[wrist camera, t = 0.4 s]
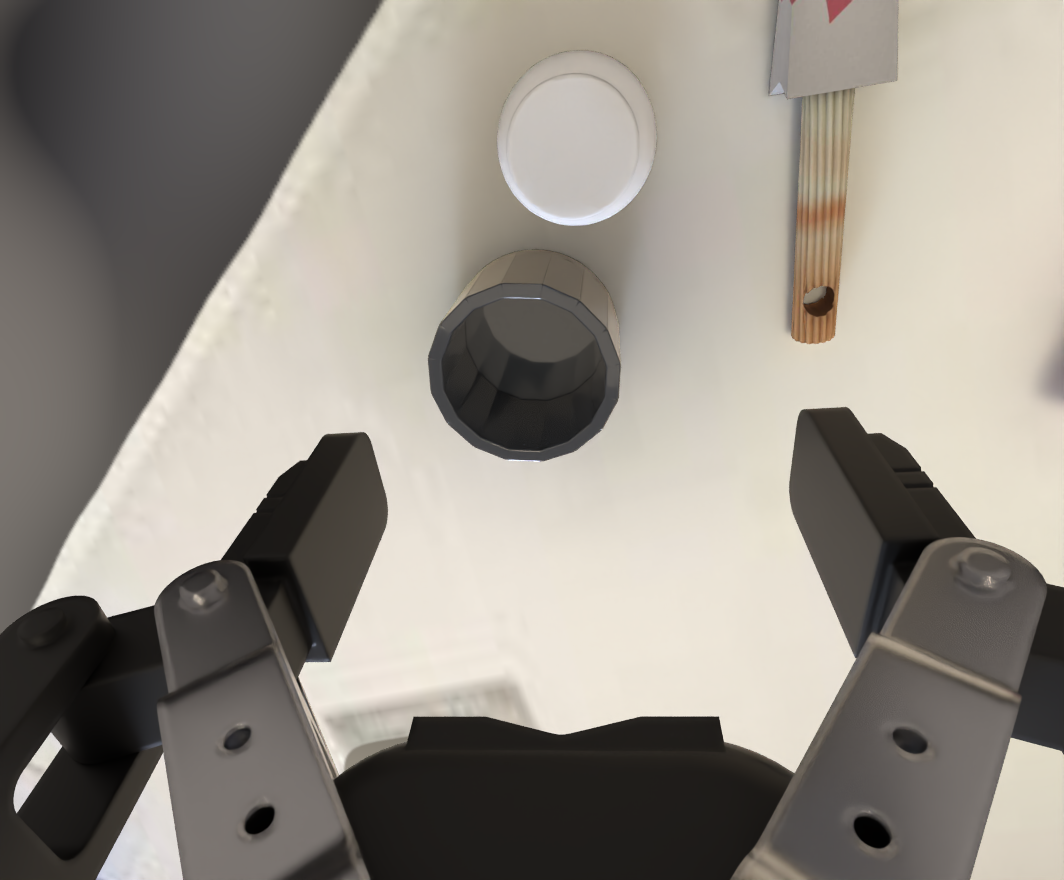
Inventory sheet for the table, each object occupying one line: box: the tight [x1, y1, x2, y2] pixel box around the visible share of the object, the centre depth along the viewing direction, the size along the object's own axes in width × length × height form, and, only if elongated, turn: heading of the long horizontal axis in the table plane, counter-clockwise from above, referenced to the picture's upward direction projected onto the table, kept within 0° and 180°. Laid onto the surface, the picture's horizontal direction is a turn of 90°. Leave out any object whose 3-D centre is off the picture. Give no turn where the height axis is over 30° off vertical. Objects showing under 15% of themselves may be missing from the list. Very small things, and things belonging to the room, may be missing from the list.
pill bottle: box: [497, 50, 657, 226], centre depth 23 cm, size 5×5×10 cm
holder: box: [428, 249, 621, 462], centre depth 29 cm, size 8×8×6 cm
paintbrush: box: [769, 0, 898, 344], centre depth 25 cm, size 4×3×20 cm
